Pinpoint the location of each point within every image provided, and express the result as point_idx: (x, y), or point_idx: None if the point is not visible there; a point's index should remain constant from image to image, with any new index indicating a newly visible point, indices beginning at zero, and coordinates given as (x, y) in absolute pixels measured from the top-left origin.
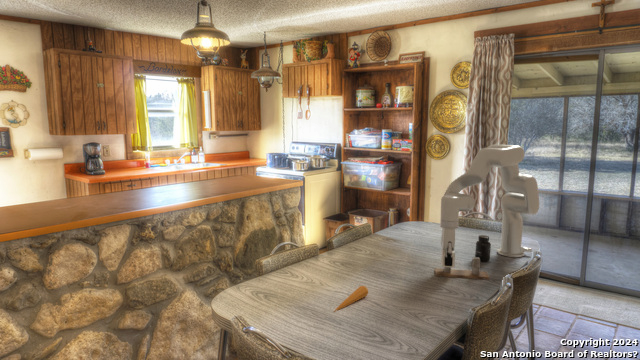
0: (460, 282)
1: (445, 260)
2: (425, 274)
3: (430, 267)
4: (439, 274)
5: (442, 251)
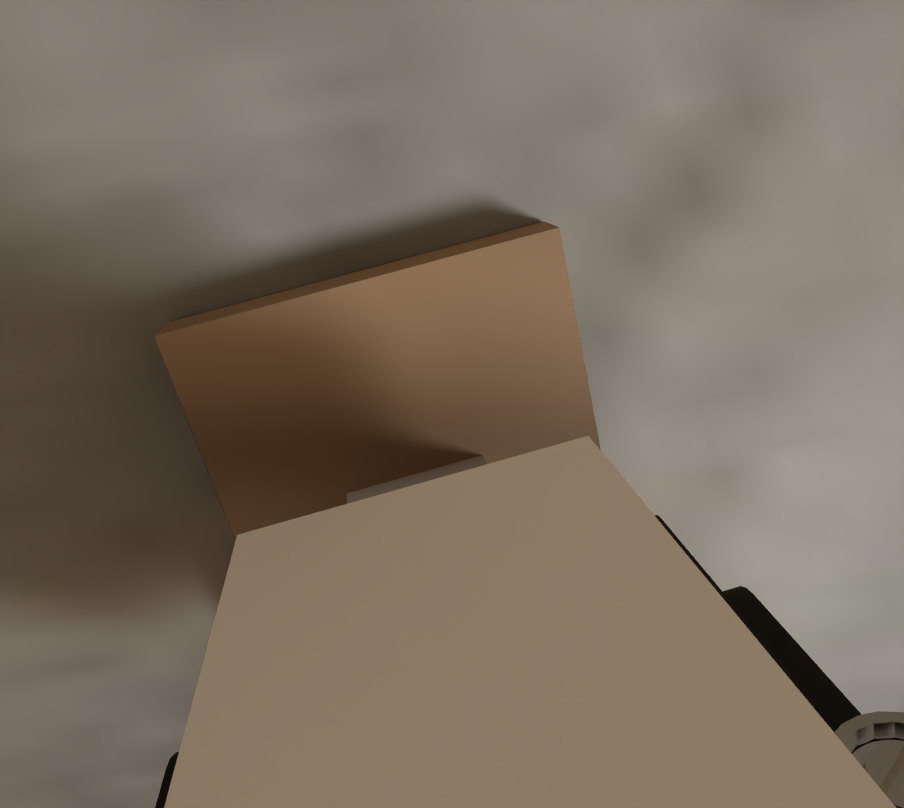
0: (65, 799)
1: None
2: (117, 37)
3: (719, 71)
4: (189, 405)
5: None
